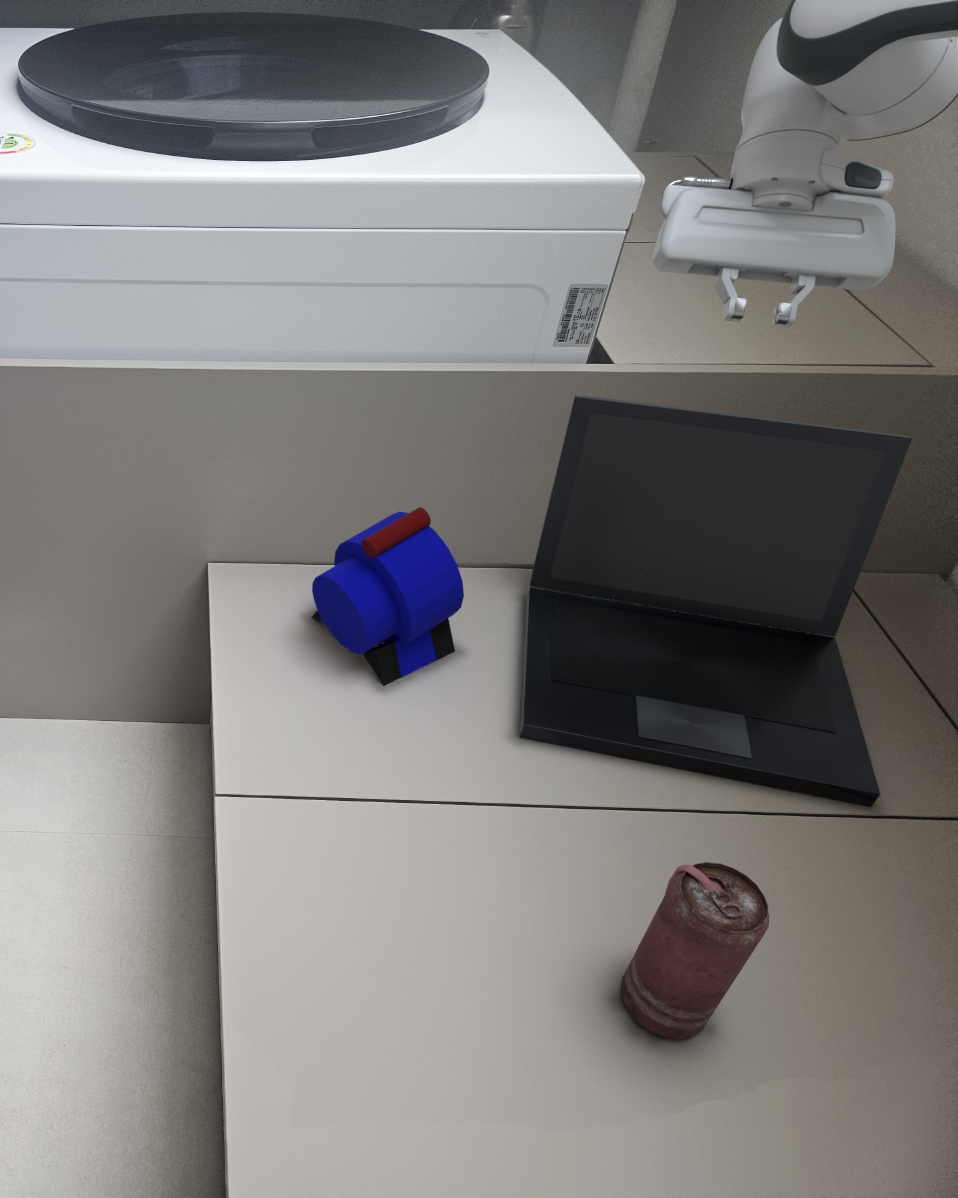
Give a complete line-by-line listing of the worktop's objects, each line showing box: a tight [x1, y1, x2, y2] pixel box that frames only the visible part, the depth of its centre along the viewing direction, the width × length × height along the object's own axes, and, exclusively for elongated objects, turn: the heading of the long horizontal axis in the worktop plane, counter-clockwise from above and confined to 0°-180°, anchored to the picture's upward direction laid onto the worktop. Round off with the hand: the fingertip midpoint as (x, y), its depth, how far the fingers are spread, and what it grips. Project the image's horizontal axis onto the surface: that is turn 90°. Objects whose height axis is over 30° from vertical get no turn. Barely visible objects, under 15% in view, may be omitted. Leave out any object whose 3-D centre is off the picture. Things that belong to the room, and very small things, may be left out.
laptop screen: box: [529, 394, 913, 638], centre depth 105 cm, size 21×30×1 cm
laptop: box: [519, 586, 881, 807], centre depth 102 cm, size 21×30×2 cm
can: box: [620, 861, 770, 1040], centre depth 73 cm, size 6×6×14 cm
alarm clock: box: [311, 507, 465, 687], centre depth 105 cm, size 12×12×15 cm
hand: (757, 322), depth 99 cm, fingers open, 3 cm apart
